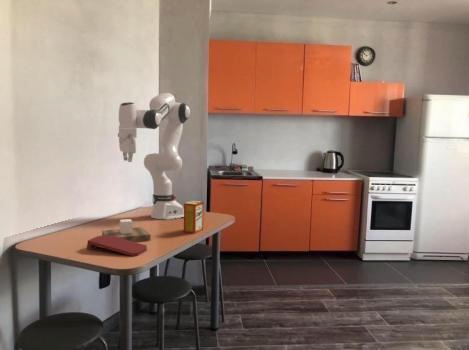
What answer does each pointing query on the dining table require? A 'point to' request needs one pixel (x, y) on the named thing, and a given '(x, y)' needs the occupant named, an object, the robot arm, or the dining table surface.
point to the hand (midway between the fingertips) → (127, 161)
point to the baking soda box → (193, 216)
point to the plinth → (130, 234)
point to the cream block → (126, 226)
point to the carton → (116, 245)
